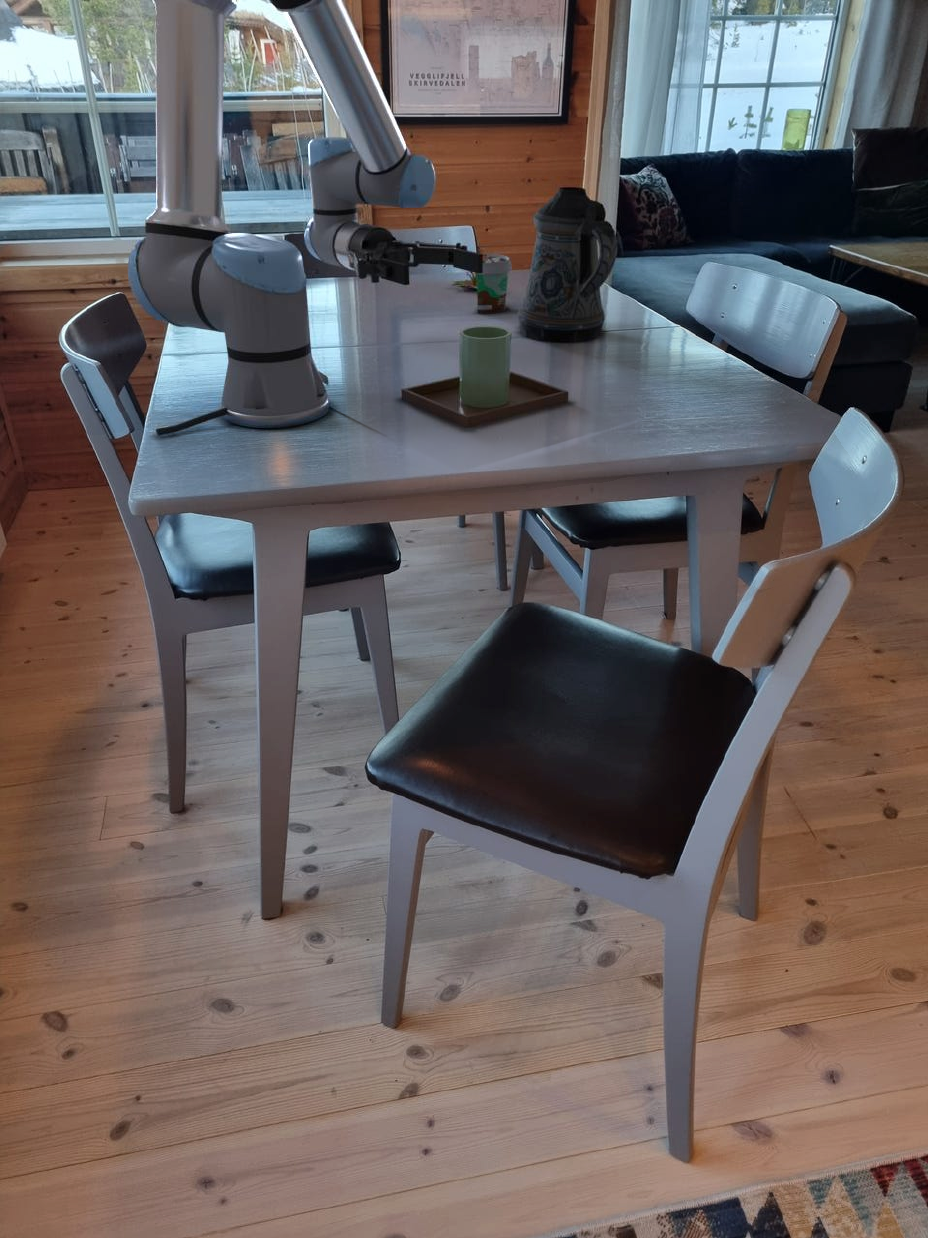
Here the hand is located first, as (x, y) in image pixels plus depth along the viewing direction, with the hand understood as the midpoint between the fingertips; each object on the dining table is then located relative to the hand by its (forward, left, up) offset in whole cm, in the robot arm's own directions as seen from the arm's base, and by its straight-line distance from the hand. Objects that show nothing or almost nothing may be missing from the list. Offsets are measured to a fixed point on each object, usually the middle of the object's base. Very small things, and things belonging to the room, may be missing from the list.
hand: (445, 269), depth 129 cm
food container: (+41, +37, -18) cm, 58 cm away
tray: (0, -10, -17) cm, 20 cm away
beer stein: (+39, +13, -18) cm, 45 cm away
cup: (0, -10, -17) cm, 20 cm away
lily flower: (+51, +57, -18) cm, 79 cm away
